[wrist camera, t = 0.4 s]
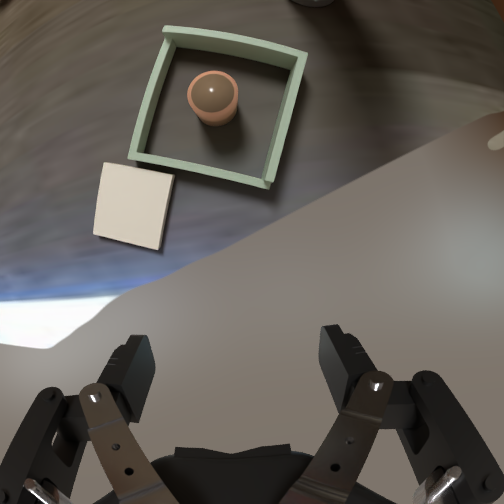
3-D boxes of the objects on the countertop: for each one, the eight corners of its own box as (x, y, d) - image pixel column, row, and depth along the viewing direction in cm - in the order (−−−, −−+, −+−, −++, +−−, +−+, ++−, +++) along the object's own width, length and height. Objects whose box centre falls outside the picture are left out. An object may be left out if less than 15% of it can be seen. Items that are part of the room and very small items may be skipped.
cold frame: (172, 40, 30) (164, 25, 25) (299, 66, 32) (308, 53, 27) (135, 159, 34) (121, 158, 29) (266, 188, 36) (271, 190, 32)
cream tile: (108, 162, 34) (104, 162, 33) (175, 174, 35) (172, 175, 34) (97, 231, 36) (93, 233, 35) (160, 247, 38) (157, 250, 36)
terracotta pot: (202, 85, 32) (195, 67, 25) (241, 93, 33) (243, 76, 26) (191, 122, 33) (181, 111, 27) (231, 130, 34) (230, 120, 27)
